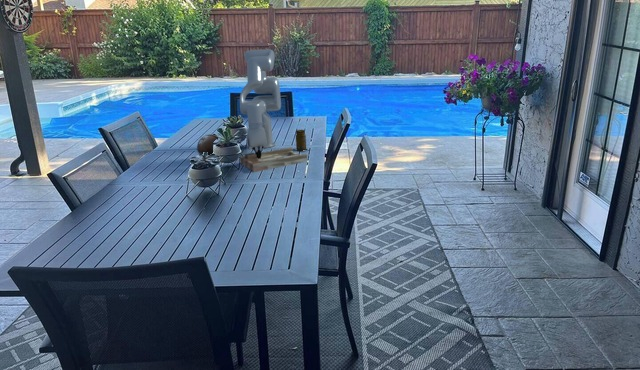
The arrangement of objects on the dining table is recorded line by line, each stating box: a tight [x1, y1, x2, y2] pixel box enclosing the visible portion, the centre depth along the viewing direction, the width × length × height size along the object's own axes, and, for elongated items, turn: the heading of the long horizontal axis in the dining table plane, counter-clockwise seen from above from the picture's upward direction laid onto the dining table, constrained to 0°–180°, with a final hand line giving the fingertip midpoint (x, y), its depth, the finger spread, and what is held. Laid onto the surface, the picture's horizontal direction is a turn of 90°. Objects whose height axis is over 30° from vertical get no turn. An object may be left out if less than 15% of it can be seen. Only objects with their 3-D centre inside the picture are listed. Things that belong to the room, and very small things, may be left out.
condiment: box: [293, 129, 307, 153], centre depth 291 cm, size 7×8×12 cm
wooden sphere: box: [196, 134, 220, 156], centre depth 279 cm, size 15×15×15 cm
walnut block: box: [244, 152, 257, 162], centre depth 266 cm, size 5×5×4 cm
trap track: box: [239, 146, 308, 173], centre depth 269 cm, size 20×32×4 cm, turn 119°
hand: (258, 158), depth 269 cm, fingers closed
